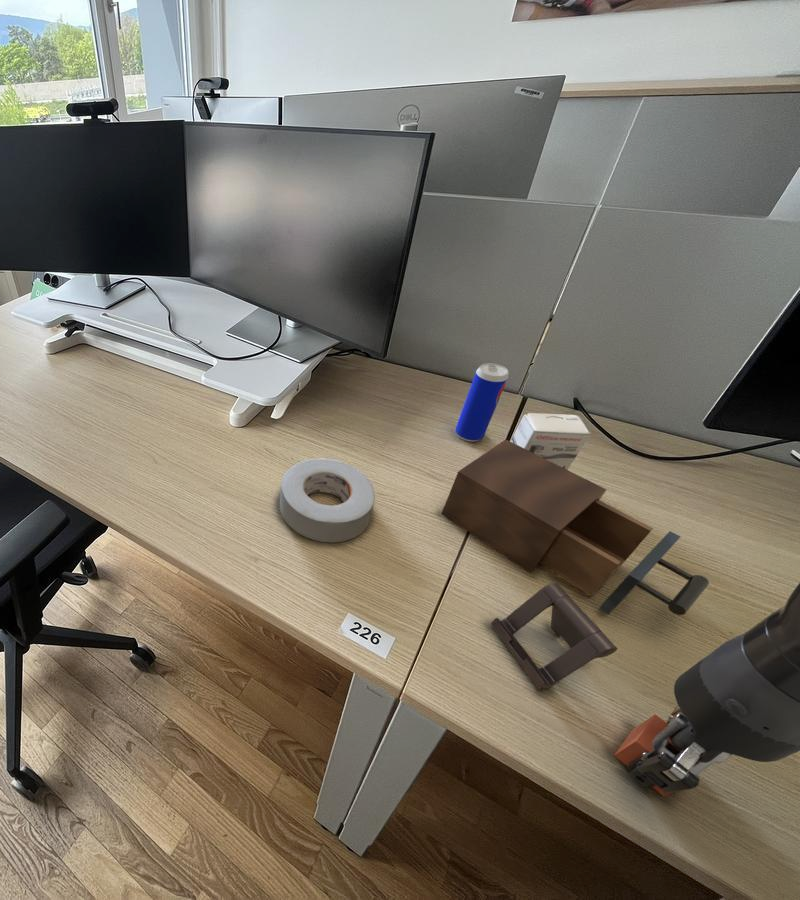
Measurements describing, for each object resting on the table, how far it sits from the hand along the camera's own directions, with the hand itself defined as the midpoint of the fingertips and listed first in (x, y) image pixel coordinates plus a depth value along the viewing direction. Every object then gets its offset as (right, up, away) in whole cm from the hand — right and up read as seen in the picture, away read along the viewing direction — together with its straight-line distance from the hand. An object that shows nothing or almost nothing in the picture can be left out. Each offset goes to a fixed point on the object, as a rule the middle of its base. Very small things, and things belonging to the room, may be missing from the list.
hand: (649, 760), depth 50 cm
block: (0, 0, 0) cm, 0 cm away
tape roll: (-27, +23, +31) cm, 47 cm away
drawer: (+9, +16, +17) cm, 25 cm away
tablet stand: (-5, +7, +10) cm, 13 cm away
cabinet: (+2, +21, +26) cm, 34 cm away
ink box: (+11, +29, +34) cm, 46 cm away
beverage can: (+6, +36, +43) cm, 57 cm away
